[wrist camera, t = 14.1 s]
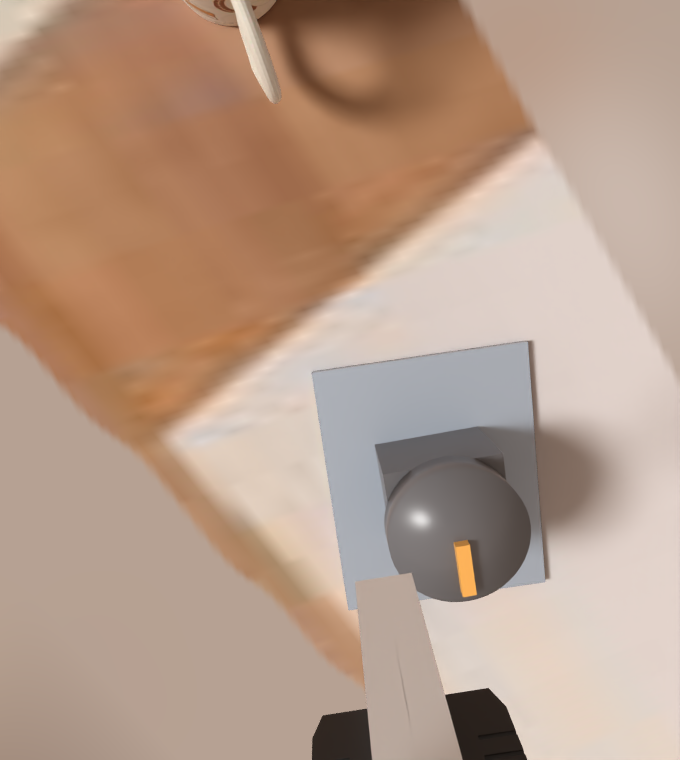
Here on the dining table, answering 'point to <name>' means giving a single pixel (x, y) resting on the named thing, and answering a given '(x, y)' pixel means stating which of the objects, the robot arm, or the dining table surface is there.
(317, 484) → the dining table surface
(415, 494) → the knob
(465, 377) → the shaft board
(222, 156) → the dining table surface
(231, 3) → the mug
